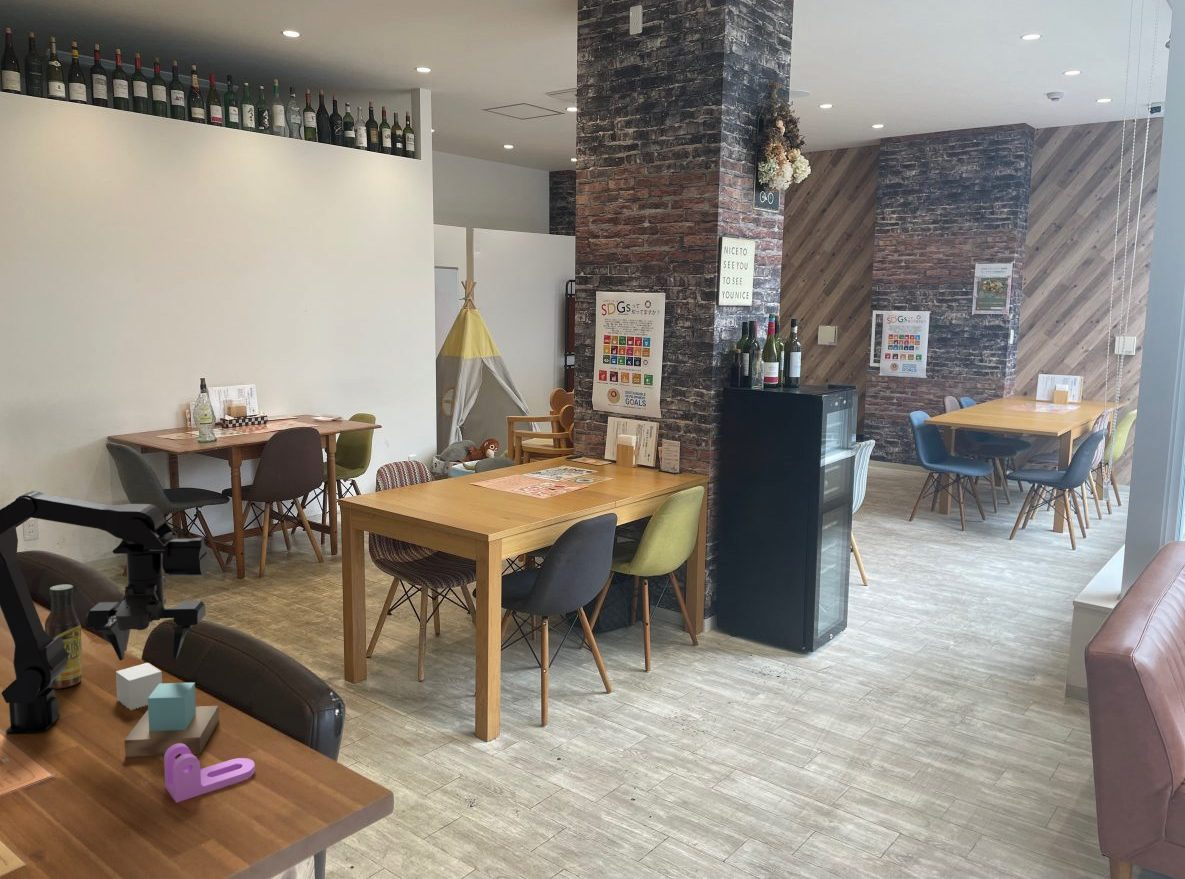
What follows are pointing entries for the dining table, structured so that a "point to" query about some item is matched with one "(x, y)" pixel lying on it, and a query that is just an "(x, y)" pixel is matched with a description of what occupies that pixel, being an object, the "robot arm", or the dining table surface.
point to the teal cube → (171, 706)
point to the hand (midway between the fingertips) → (148, 658)
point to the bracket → (200, 773)
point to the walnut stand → (172, 734)
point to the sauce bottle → (65, 633)
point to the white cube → (137, 684)
